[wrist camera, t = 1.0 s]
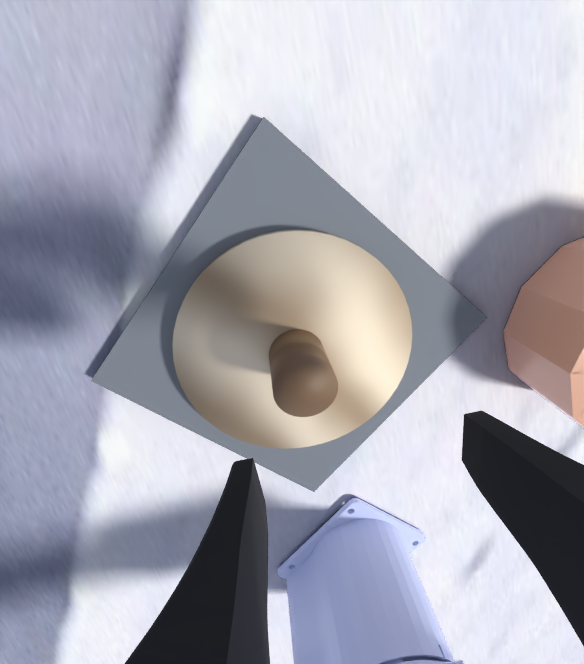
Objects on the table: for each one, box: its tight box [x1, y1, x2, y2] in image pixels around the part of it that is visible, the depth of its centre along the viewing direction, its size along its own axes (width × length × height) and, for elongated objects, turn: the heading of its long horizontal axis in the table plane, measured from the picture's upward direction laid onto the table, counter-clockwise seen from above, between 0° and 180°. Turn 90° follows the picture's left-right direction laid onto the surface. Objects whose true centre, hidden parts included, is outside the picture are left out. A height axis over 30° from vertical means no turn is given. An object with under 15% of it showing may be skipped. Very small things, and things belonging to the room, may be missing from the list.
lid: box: [172, 229, 412, 449], centre depth 18 cm, size 13×13×4 cm
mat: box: [91, 117, 487, 492], centre depth 20 cm, size 16×16×1 cm
